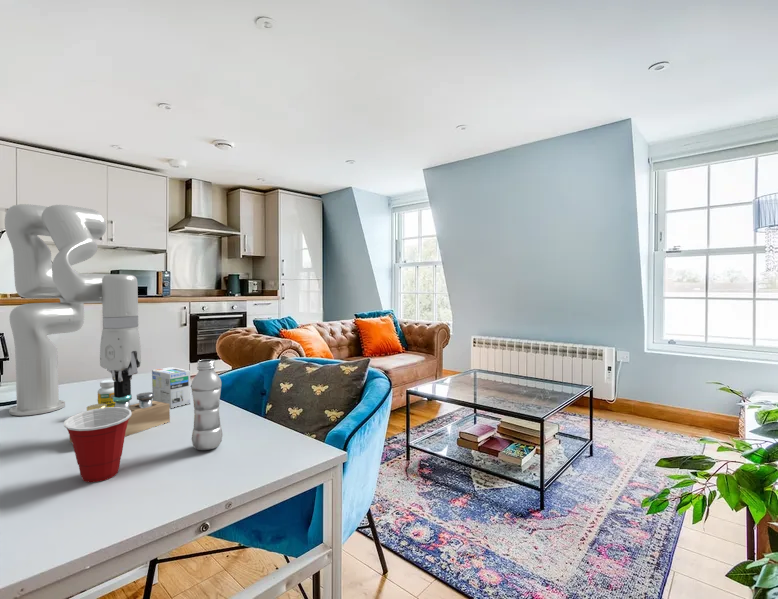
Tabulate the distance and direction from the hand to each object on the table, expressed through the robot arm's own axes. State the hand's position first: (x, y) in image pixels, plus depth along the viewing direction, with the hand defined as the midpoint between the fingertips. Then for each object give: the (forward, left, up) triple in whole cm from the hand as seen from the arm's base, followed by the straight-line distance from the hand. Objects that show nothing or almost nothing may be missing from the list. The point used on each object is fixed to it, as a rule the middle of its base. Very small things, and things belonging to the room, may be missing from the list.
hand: (122, 395), depth 104 cm
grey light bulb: (0, +6, -8) cm, 10 cm away
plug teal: (0, 0, -8) cm, 8 cm away
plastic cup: (+21, -17, -9) cm, 29 cm away
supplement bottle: (-18, +7, -9) cm, 22 cm away
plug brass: (0, -6, -8) cm, 10 cm away
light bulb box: (-11, +22, -9) cm, 26 cm away
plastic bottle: (+28, +2, -9) cm, 30 cm away
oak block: (0, 0, -9) cm, 9 cm away
